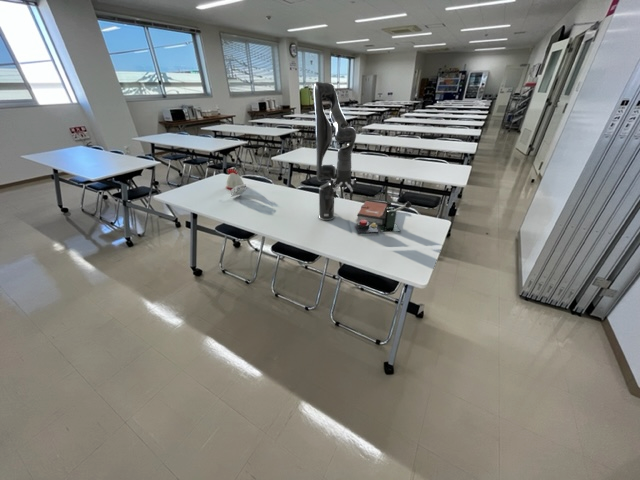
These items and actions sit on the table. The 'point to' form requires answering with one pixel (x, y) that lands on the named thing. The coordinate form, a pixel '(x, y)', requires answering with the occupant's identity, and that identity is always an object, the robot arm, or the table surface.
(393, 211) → the switch bracket
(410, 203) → the switch lever
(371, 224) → the lamp lens
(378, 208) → the book
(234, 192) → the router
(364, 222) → the button
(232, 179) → the kitchen timer
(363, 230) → the emergency stop panel
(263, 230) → the table surface
